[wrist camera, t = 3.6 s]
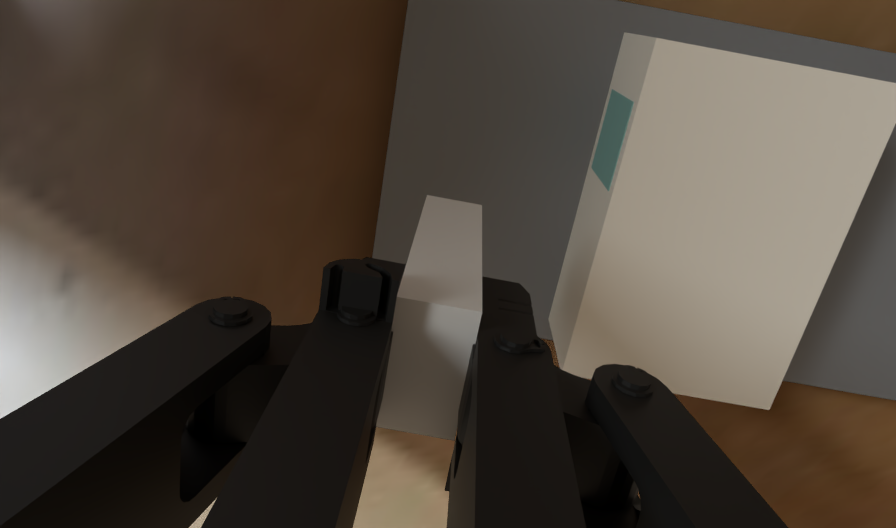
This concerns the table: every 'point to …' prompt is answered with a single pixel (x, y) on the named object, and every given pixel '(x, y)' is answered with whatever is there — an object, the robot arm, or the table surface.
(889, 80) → the grey base with uprights
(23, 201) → the table surface
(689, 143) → the carton
